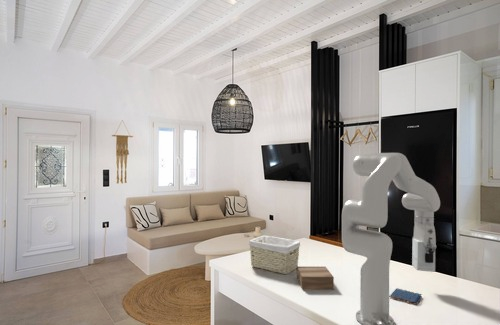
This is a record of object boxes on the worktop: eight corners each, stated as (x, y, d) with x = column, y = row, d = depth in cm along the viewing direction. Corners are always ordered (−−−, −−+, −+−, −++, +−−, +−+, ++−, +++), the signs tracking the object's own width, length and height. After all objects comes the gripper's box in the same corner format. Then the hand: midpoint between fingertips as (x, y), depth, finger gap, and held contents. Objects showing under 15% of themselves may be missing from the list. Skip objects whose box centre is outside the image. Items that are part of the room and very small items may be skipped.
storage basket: (301, 267, 166) (301, 240, 166) (287, 276, 152) (287, 247, 152) (263, 259, 179) (263, 234, 179) (247, 267, 166) (247, 240, 166)
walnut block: (333, 290, 136) (333, 277, 136) (302, 290, 136) (302, 276, 136) (325, 278, 150) (325, 266, 150) (296, 278, 150) (297, 266, 150)
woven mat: (395, 291, 136) (395, 287, 136) (422, 298, 129) (422, 293, 129) (388, 299, 128) (388, 294, 128) (416, 307, 121) (416, 301, 121)
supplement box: (435, 272, 133) (436, 243, 133) (417, 270, 134) (417, 241, 135) (429, 267, 140) (429, 239, 141) (411, 265, 142) (412, 238, 142)
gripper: (444, 224, 129) (444, 265, 129) (421, 217, 147) (420, 254, 146) (426, 223, 129) (426, 265, 129) (405, 217, 147) (405, 254, 146)
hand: (423, 259), depth 137 cm, fingers closed on supplement box, 8 cm apart
